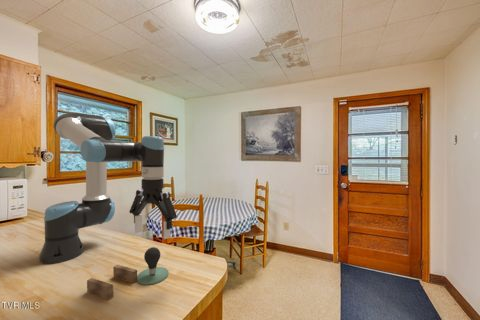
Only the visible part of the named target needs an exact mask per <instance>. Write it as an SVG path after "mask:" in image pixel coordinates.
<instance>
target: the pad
mask: <svg viewBox="0 0 480 320" xmlns="http://www.w3.org/2000/svg"><path fill="white" fill-rule="evenodd" d="M168 277H169V270H168V269H167V268H166V267H163V266H156V273H155V274H154V275H151V274H149V268H146V269H144V270H142V271H141V272H139V273H137V281H136V282H137V283H138V284H140V285H143V286H150V285H155V284H158V283H161V282H163V281H164V280H166V279H167V278H168Z"/></svg>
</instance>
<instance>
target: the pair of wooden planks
mask: <svg viewBox="0 0 480 320" xmlns="http://www.w3.org/2000/svg"><path fill="white" fill-rule="evenodd" d="M112 271H113V278H115V279H118V280H120V281H121V280H122V281H126V282H128V283H132V284H135V283H136V282H137V276H138V269H136V268H131V267H128V266H124V265H119V264H115V265H114V266H113V270H112ZM86 292H87V294H91V295H93V296H96V297H99V298H102V299H104V300H105V299H106V300H108V301H109V300H111V299H112V298H114V284H113V283H109V282H105V281H103V280H100V279H96V278H93V277H91V278H88V279H87V280H86Z"/></svg>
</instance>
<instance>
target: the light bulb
mask: <svg viewBox="0 0 480 320" xmlns="http://www.w3.org/2000/svg"><path fill="white" fill-rule="evenodd" d="M143 258H144V261H145V263H146V265H147V269H149V274H151V275H154V274H155V273H156V267H158V262H159V260H160V259H161V251H160V249H159V248H158V247H153V246H151V247H149V248H148V249H146V251H145V252H144V256H143Z"/></svg>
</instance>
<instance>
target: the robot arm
mask: <svg viewBox="0 0 480 320" xmlns="http://www.w3.org/2000/svg"><path fill="white" fill-rule="evenodd" d="M114 123H115V122H114V121H113V120H112V119H111V118H110V117H107V116H103V115H95V114H88V113H82V112H81V113H80V112H66V113H63V114H60V115H59V116H57V117H56V119H54V122H53V130H54V132H55V133H56V135H58V136H59V137H60V138H63V139H64V140H69V141H70V142H71V143H73V144H74V145H76V146H77V147H78V148H80V156H81V158H82V160H83V161H84V162H85V195H84V196H83V197H82V198H81V200H82V201H81V202H80V203H79V202H78V201H76V200H70V201H62V202H59V203H55V204H53V205H50V206H48V207H46V209H45V210H44V215H43V216H44V217H43V220H44V243H43V246H42V249H41V250H40V251H41V252H40V253H39V262H40V263H42V264H47V265H48V264H57V263H62V262H66V261H69V260H72V259H75V258H77V257H79V256H80V255H82V254H83V253H84V245H83V243H82V241H81V239H80V235H79V230H80V229H85V228H89V227H92V226H97V225H103V224H104V223H105V224H106V223H108V222H110V221H111V220H112V219H113V217H114V216H115V213H116V212H115V211H116V205H115V201H114V200H113V199H112V198H111V196H110V195H109V194H108V193H107V188H108V187H107V185H108V182H107V181H108V180H107V178H108V177H107V176H108V175H107V174H108V172H107V170H108V169H107V167H108V165H107V164H108V162H109V163H110V162H111V163H112V162H113V163H115V162H118V163H119V162H121V163H122V162H141V177H142V179H141V188H140V189H137V190H136V191H135V197H134V199H133V202H132V204H131V206H130V209H129V210H128V211H129V214H132V215H133V223H134V234H138V233H141V232H142V231H143V214H142V212H143V210H144V209H145V208H146V207H147V205H148V204H151V205H155V206H156V207H157V208H158V210H159V211H160V213H161V215H162V216H163V218H164V220H163V240H166V239H169V238H171V229H173V228H172V227H173V225H172V224H173V220H174V219H177V218H178V215H177V213H176V210H175V207H174V205H173V202H172V200H171V193H170V192H169V191H166V192H163V188H164V178H163V177H164V172H165V171H164V161H165V159H164V158H165V157H164V156H165V155H164V154H165V146H164V144H165V143H164V142H165V141H164V138H163V137H161V136H154V135H146V136H142V137H141V142H140V141H125V140H124V141H121V140H120V141H119V140H114V139H115V137H116V135H117V131H116V126H115V124H114Z"/></svg>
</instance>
